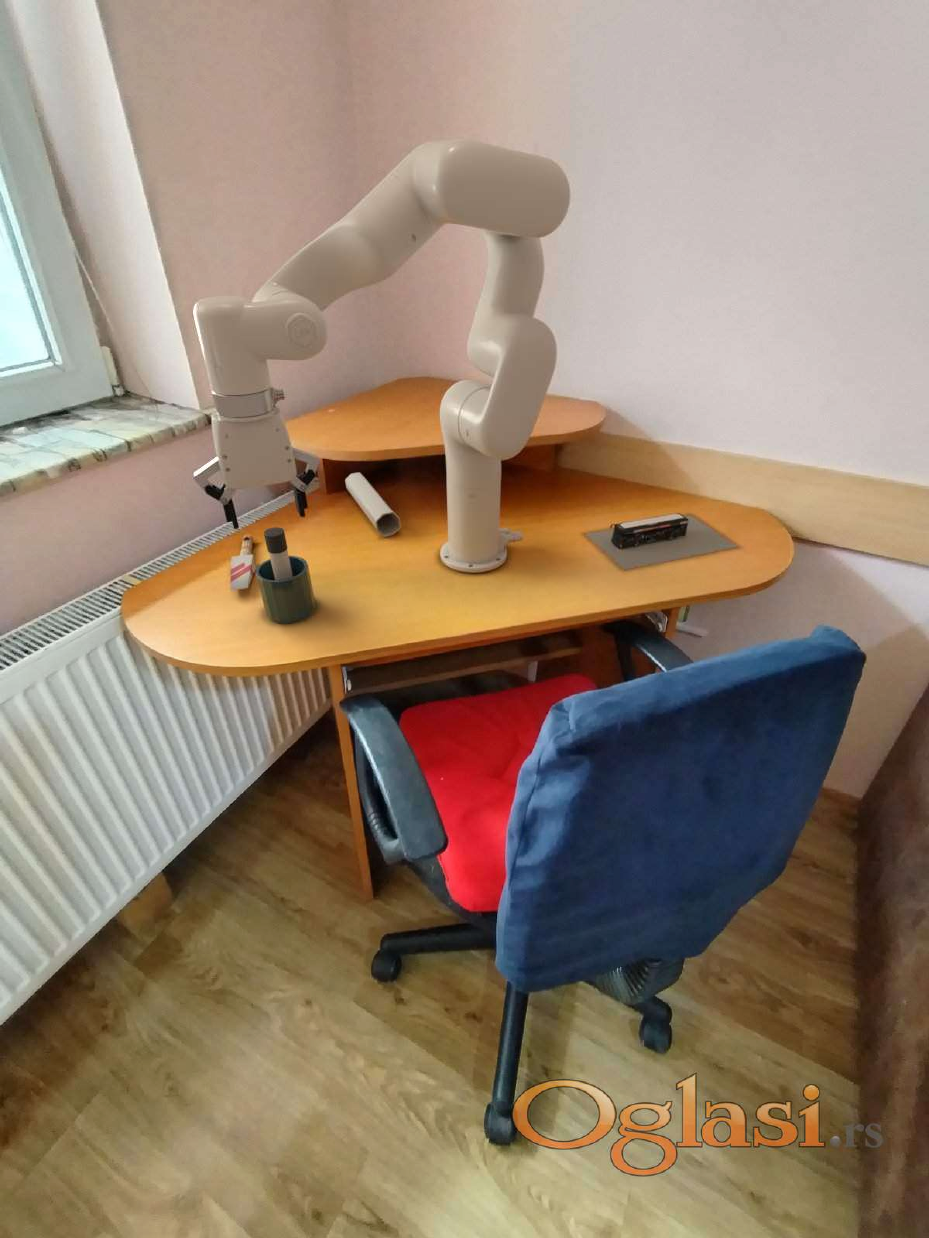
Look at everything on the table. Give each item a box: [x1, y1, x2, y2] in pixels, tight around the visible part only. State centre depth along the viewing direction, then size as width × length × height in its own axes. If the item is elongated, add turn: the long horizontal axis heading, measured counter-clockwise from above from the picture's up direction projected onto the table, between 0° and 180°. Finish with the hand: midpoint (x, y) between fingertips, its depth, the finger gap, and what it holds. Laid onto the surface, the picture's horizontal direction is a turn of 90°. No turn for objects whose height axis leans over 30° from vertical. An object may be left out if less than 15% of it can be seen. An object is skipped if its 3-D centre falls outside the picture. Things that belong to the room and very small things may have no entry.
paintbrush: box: [230, 534, 257, 591], centre depth 109 cm, size 4×3×20 cm
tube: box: [344, 471, 402, 538], centre depth 127 cm, size 5×5×25 cm
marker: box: [263, 526, 293, 580], centre depth 95 cm, size 3×3×14 cm
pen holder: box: [254, 555, 316, 625], centre depth 97 cm, size 8×8×8 cm
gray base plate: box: [585, 512, 738, 570], centre depth 116 cm, size 14×25×4 cm, turn 109°
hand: (268, 519), depth 89 cm, fingers open, 9 cm apart
